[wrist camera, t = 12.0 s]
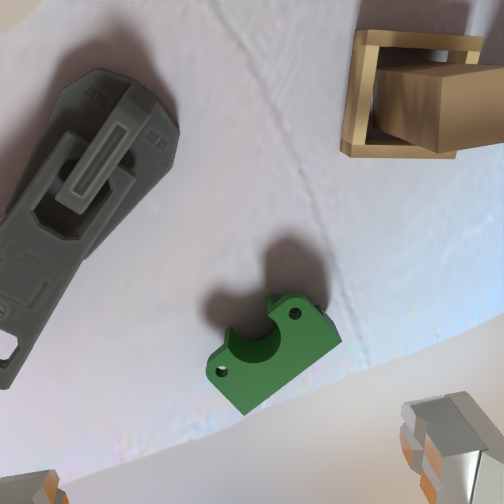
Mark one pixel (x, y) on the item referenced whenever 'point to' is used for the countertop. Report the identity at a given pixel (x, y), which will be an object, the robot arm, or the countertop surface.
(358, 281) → the countertop surface
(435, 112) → the wooden block
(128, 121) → the zipper pull
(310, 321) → the clamp
